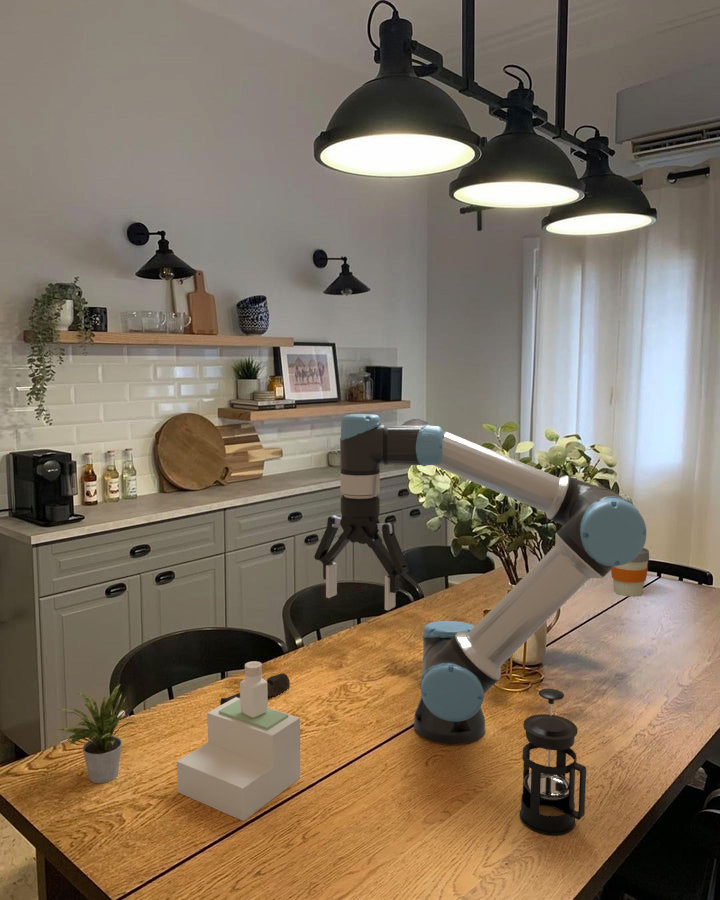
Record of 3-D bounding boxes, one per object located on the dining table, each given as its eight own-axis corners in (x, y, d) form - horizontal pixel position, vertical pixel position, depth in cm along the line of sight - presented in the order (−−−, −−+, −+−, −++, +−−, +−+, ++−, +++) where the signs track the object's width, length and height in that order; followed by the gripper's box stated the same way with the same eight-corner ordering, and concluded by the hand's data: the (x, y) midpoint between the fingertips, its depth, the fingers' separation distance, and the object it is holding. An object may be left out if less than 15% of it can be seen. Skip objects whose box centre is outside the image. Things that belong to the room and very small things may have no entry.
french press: (505, 818, 130) (509, 691, 127) (533, 795, 136) (537, 674, 134) (568, 848, 122) (573, 713, 119) (594, 822, 128) (599, 694, 126)
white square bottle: (255, 705, 144) (255, 658, 143) (269, 712, 142) (268, 664, 140) (239, 712, 141) (238, 664, 140) (252, 719, 139) (251, 670, 138)
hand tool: (229, 719, 166) (229, 699, 165) (219, 713, 169) (219, 693, 168) (296, 693, 179) (296, 674, 178) (286, 688, 182) (286, 669, 181)
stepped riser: (300, 777, 142) (299, 715, 140) (243, 821, 129) (242, 752, 127) (237, 753, 151) (235, 694, 149) (177, 792, 137) (175, 727, 136)
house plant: (82, 752, 151) (79, 674, 149) (150, 753, 151) (147, 675, 149) (51, 792, 137) (47, 707, 135) (126, 794, 137) (123, 709, 135)
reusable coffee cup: (611, 597, 251) (613, 553, 249) (605, 586, 263) (607, 544, 261) (651, 599, 249) (653, 555, 247) (643, 587, 261) (645, 545, 259)
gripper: (427, 498, 140) (425, 608, 143) (319, 486, 154) (319, 586, 156) (407, 504, 134) (406, 619, 136) (296, 491, 147) (297, 596, 150)
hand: (360, 602), depth 146 cm, fingers open, 13 cm apart
